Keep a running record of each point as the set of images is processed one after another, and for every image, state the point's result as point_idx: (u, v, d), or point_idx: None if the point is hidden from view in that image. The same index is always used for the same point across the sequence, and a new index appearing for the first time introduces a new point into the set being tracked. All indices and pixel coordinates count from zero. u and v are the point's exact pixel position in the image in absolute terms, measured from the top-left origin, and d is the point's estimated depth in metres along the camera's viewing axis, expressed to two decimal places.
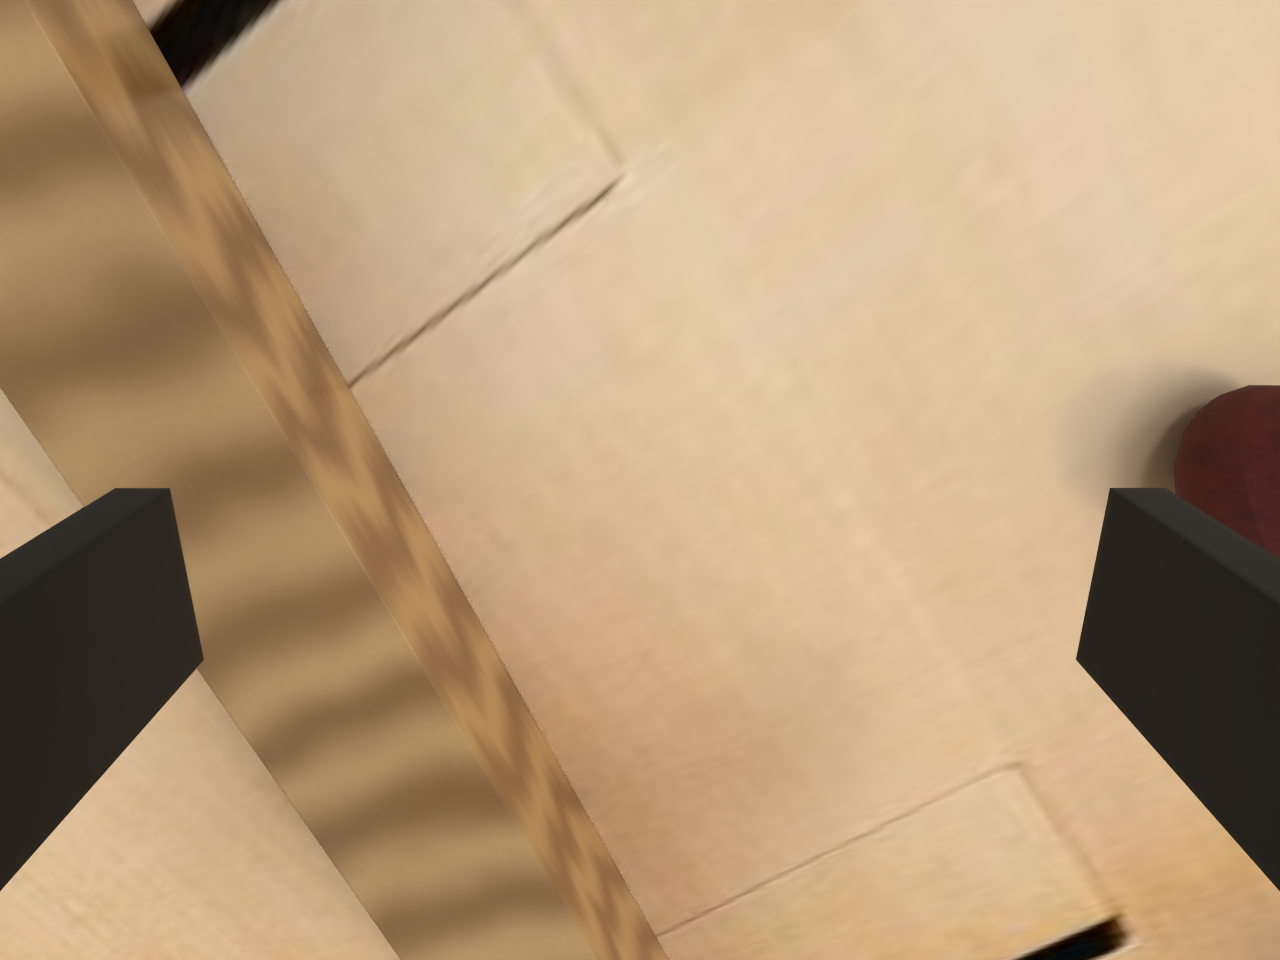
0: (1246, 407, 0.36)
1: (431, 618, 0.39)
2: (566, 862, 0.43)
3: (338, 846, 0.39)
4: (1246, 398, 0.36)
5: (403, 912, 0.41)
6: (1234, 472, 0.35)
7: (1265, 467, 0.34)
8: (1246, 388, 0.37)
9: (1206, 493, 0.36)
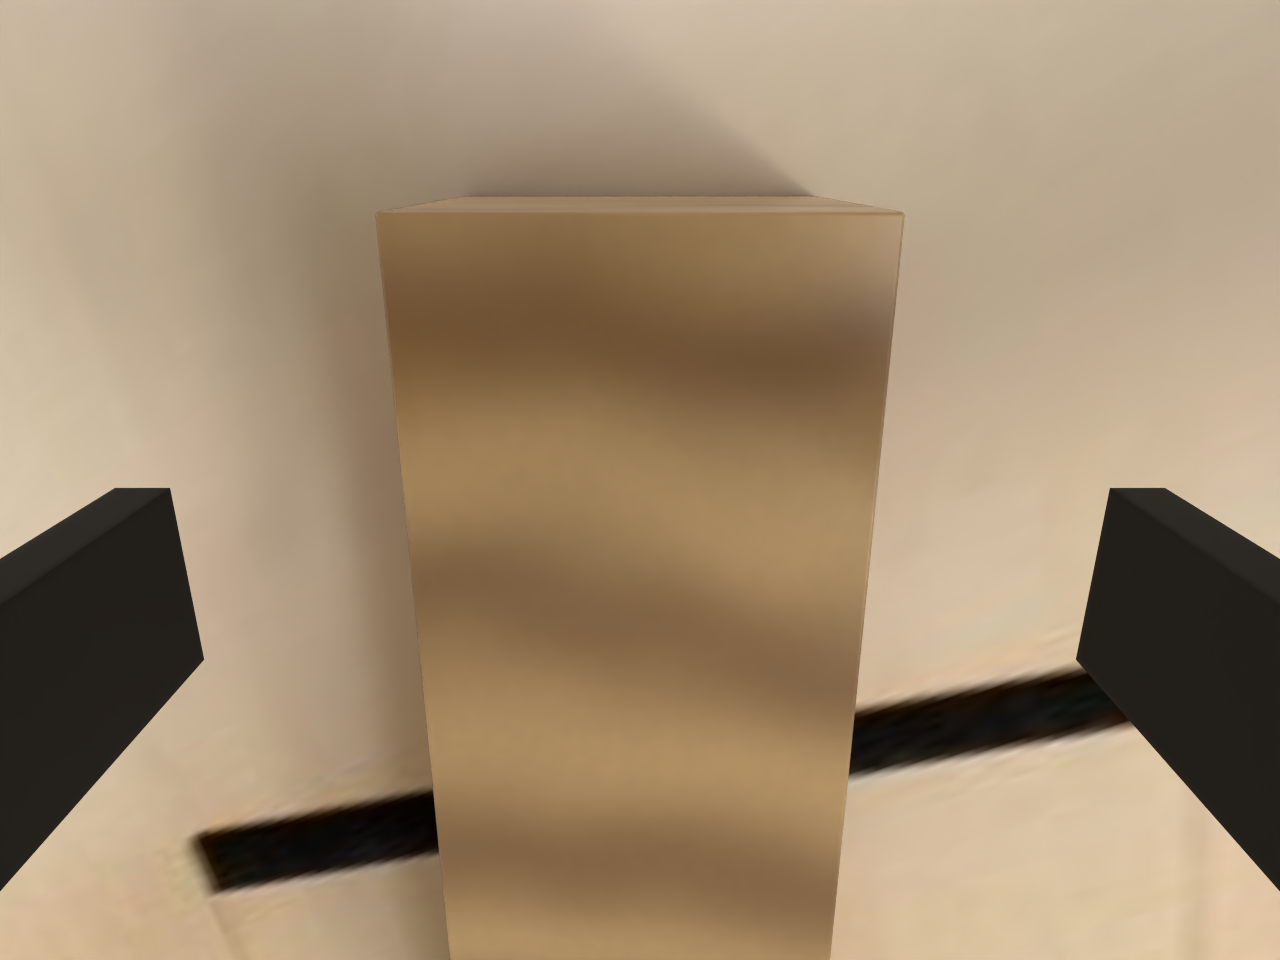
0: None
1: None
2: None
3: None
4: None
5: None
6: None
7: None
8: None
9: None
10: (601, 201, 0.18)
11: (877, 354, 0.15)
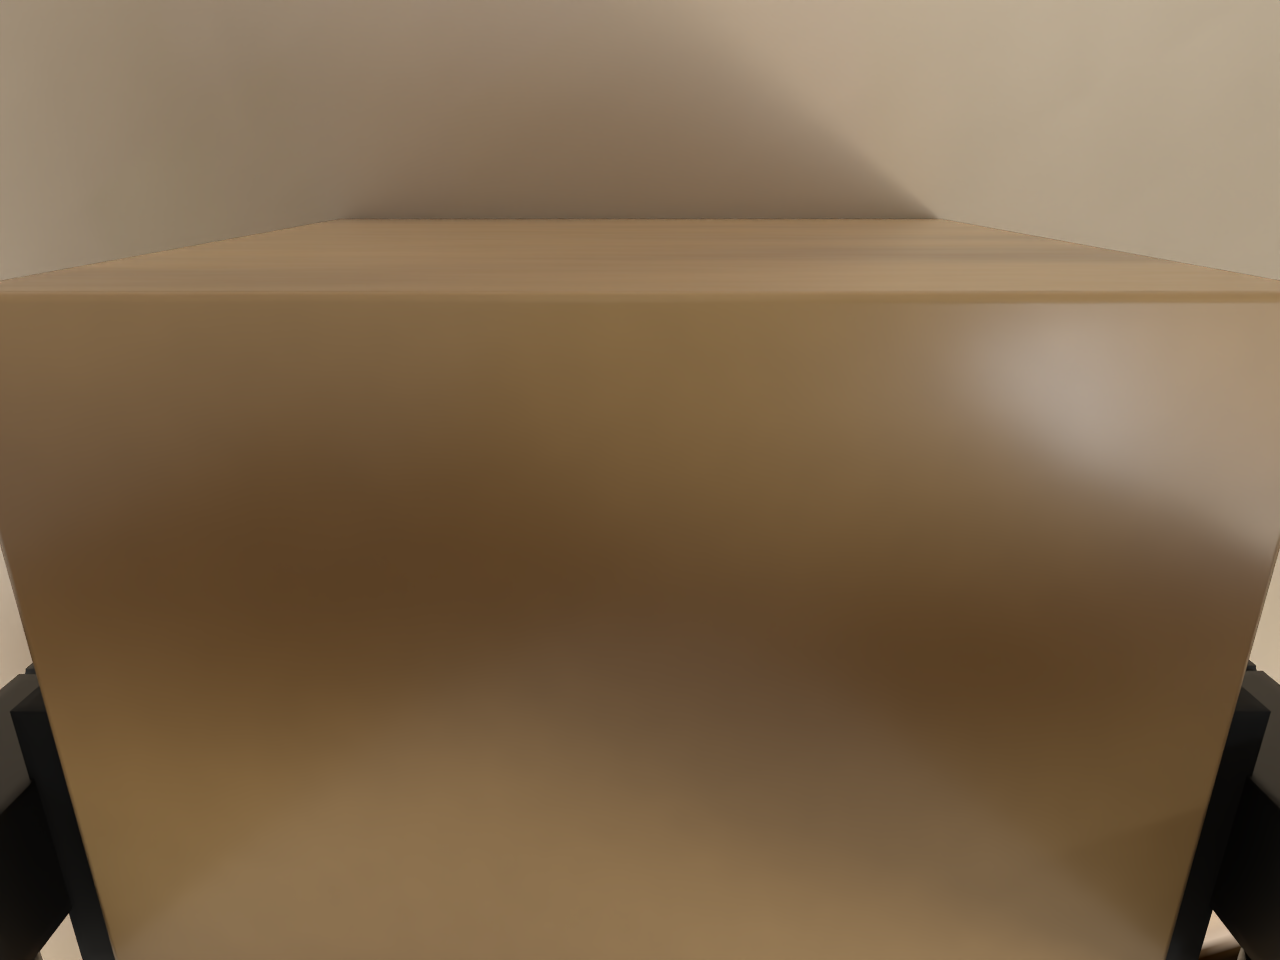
0: None
1: None
2: None
3: None
4: None
5: None
6: None
7: None
8: None
9: None
10: (564, 237, 0.09)
11: (1226, 633, 0.06)
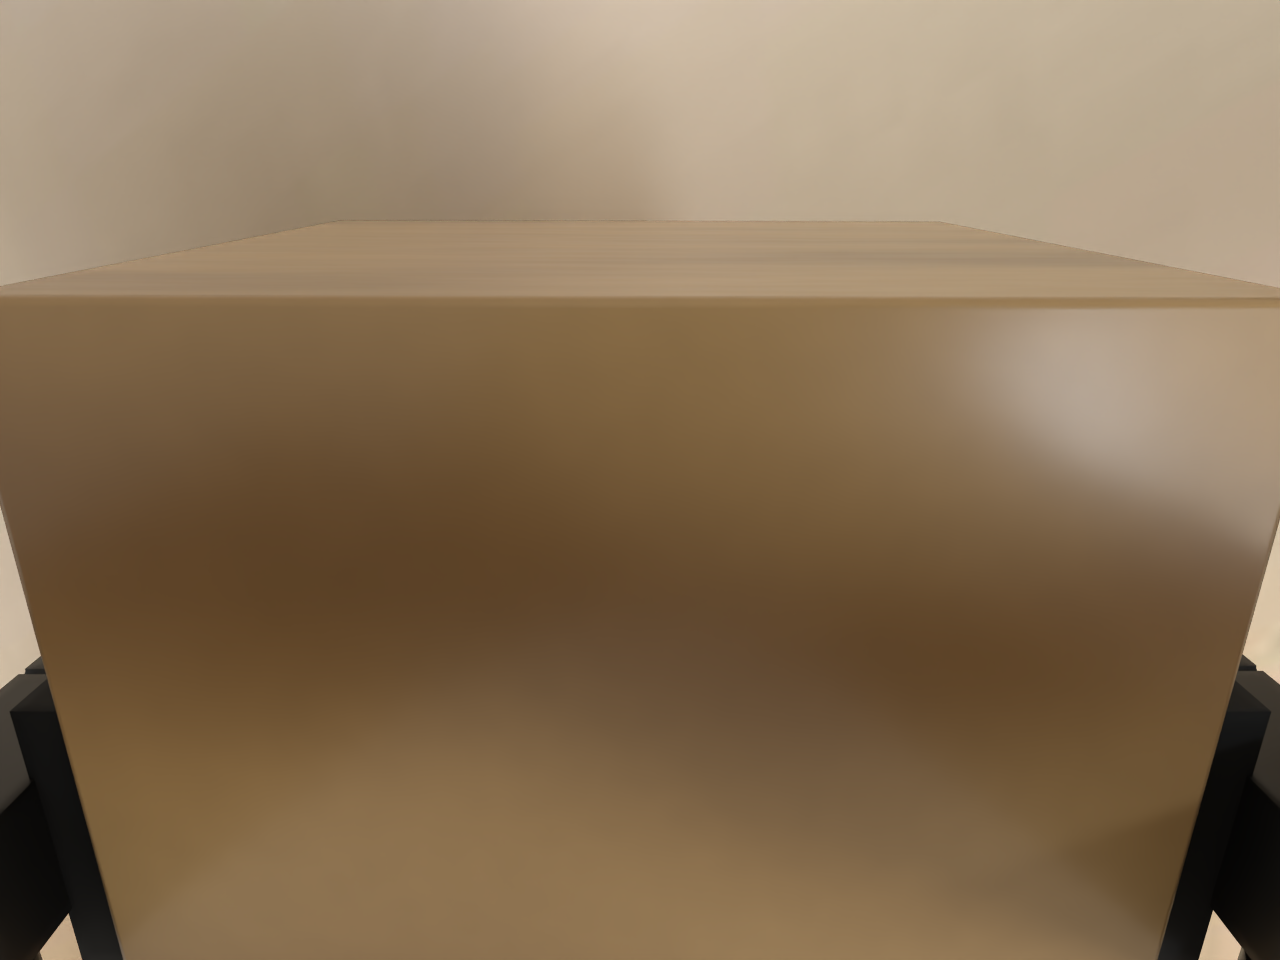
0: None
1: None
2: None
3: None
4: None
5: None
6: None
7: None
8: None
9: None
10: (566, 239, 0.09)
11: (1217, 633, 0.06)
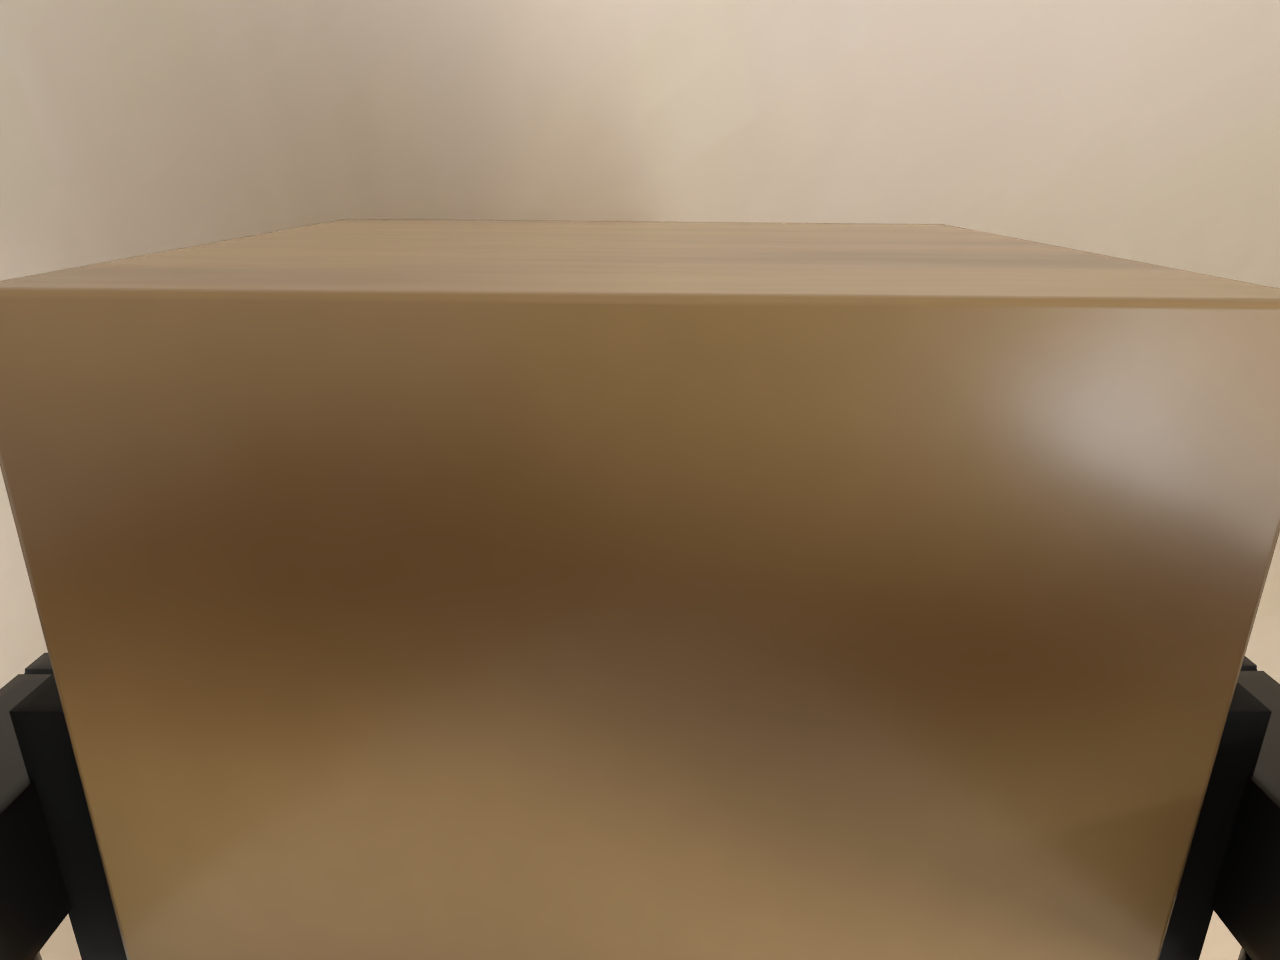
0: None
1: None
2: None
3: None
4: None
5: None
6: None
7: None
8: None
9: None
10: (571, 239, 0.09)
11: (1220, 634, 0.06)
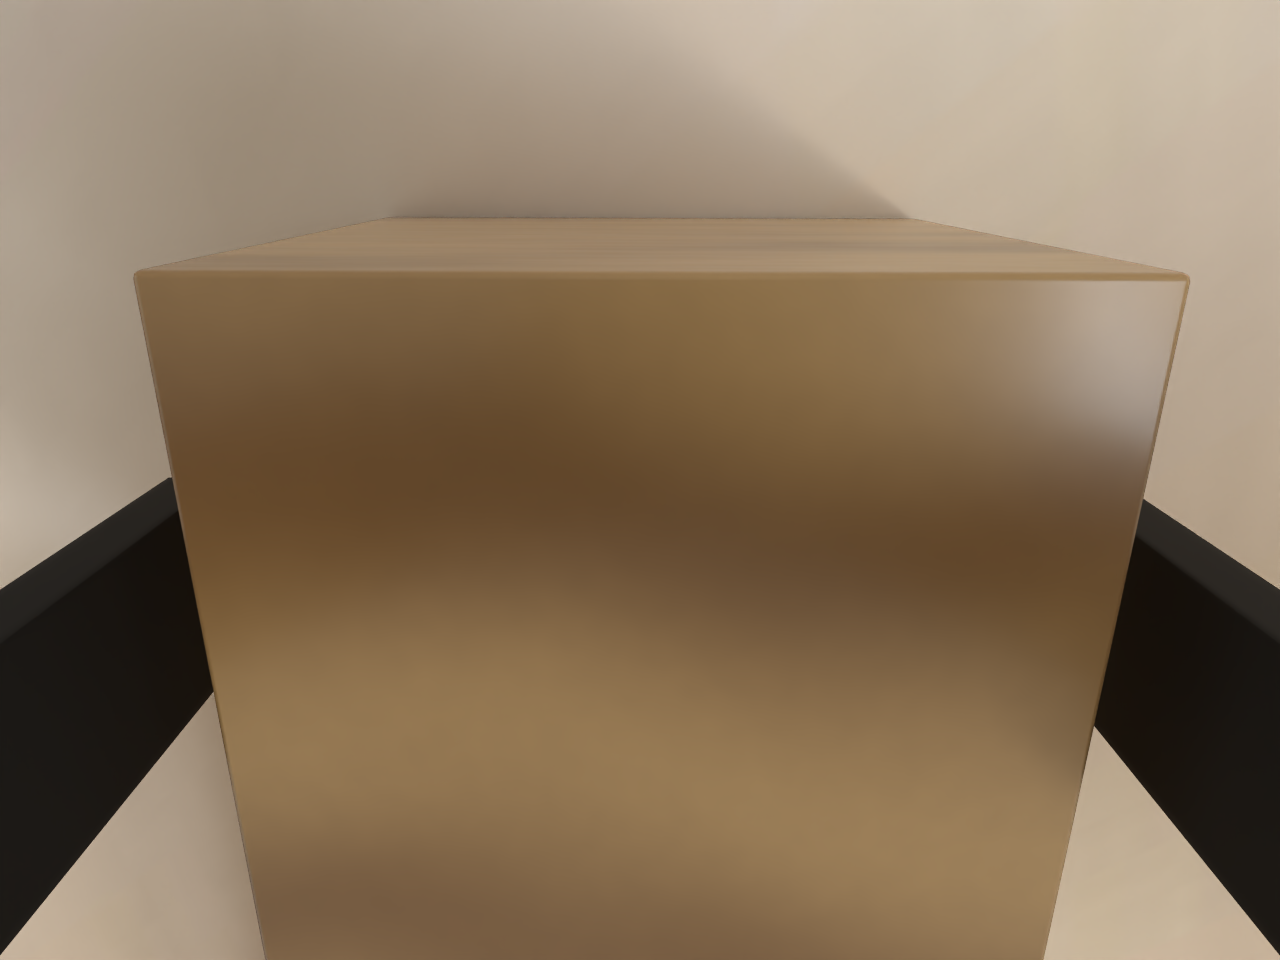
0: None
1: None
2: None
3: None
4: None
5: None
6: None
7: None
8: None
9: None
10: (590, 233, 0.11)
11: (1111, 539, 0.08)
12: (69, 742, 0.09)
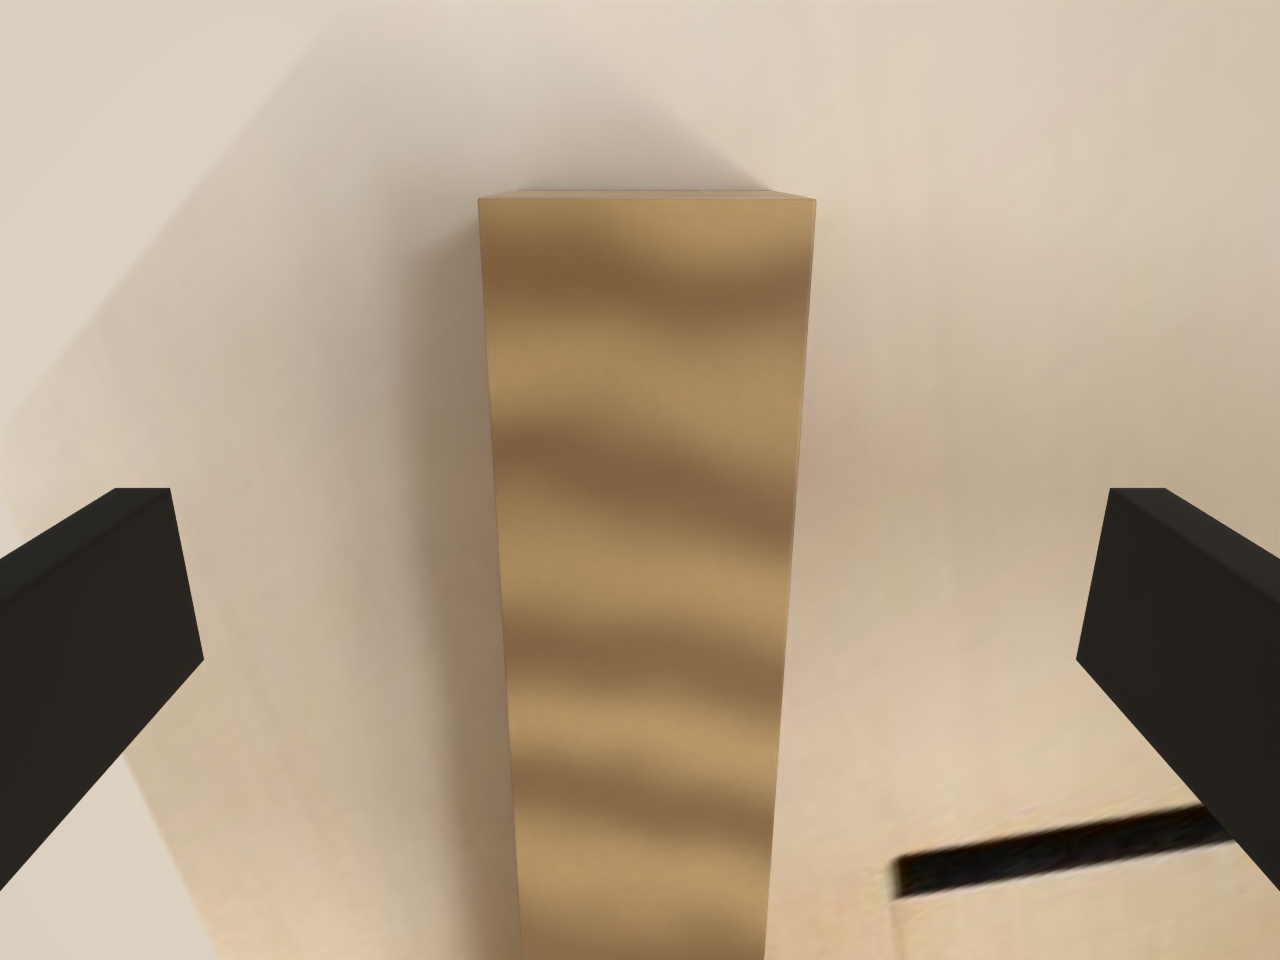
0: None
1: None
2: None
3: None
4: None
5: None
6: None
7: None
8: None
9: None
10: (619, 193, 0.26)
11: (801, 292, 0.23)
12: None
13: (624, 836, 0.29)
